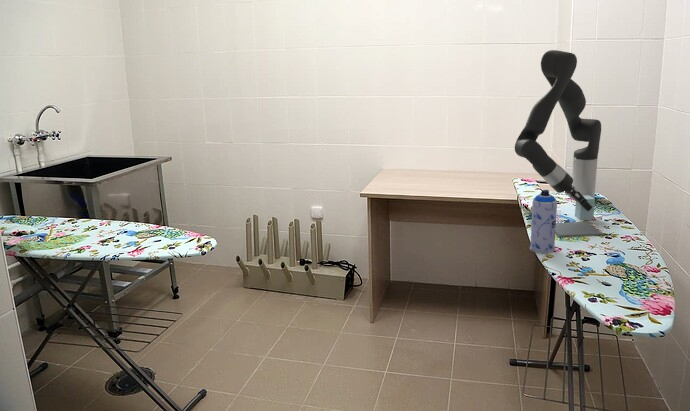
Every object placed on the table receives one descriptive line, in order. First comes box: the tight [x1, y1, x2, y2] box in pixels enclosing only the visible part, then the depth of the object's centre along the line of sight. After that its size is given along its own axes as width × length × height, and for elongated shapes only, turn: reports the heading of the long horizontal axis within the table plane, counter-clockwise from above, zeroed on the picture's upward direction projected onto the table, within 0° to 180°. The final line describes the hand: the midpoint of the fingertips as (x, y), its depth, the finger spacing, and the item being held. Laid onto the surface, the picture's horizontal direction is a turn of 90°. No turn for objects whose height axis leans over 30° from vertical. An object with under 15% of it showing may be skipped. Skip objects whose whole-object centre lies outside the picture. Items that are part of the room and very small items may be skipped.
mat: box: [555, 221, 604, 238], centre depth 203 cm, size 13×15×1 cm
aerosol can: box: [529, 189, 558, 254], centre depth 185 cm, size 8×8×20 cm
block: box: [574, 195, 596, 221], centre depth 215 cm, size 5×5×8 cm
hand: (586, 206), depth 215 cm, fingers closed on block, 5 cm apart
